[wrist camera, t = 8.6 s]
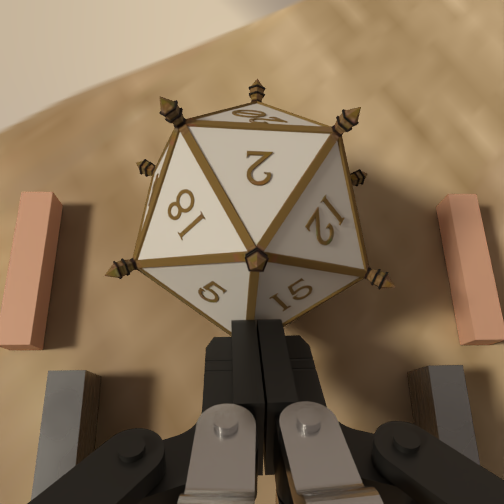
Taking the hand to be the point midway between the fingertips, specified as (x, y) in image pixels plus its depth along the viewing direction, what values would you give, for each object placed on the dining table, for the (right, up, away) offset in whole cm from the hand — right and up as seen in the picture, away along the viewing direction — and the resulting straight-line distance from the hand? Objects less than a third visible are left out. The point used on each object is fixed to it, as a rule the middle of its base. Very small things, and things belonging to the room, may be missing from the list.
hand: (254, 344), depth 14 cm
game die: (0, +2, +5) cm, 6 cm away
